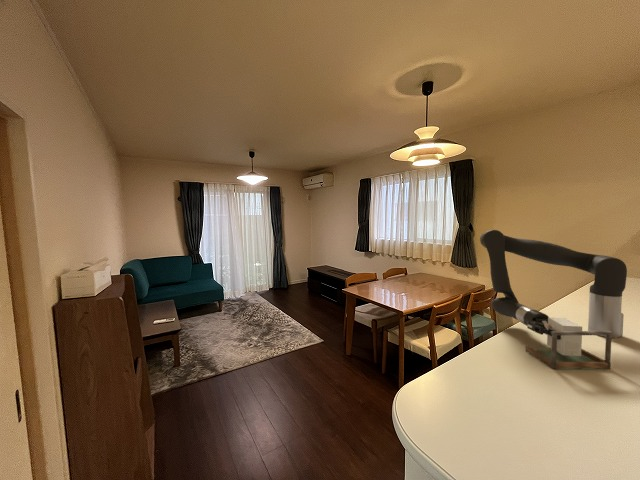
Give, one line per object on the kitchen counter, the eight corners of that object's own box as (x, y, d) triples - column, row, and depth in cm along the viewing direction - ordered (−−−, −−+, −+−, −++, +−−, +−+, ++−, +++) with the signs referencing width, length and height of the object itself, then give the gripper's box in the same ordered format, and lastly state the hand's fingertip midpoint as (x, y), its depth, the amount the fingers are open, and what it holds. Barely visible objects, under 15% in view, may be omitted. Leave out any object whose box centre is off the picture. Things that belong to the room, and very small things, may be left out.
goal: (575, 351, 96) (577, 318, 95) (611, 369, 83) (612, 332, 83) (525, 351, 96) (526, 318, 96) (553, 369, 84) (554, 332, 84)
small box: (581, 357, 86) (583, 326, 85) (562, 355, 87) (563, 325, 86) (563, 345, 94) (565, 317, 93) (546, 344, 95) (547, 316, 94)
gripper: (514, 309, 104) (548, 326, 88) (551, 309, 104) (592, 326, 87) (513, 327, 105) (547, 347, 88) (550, 327, 104) (591, 347, 88)
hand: (570, 337), depth 88 cm, fingers closed on small box, 6 cm apart
